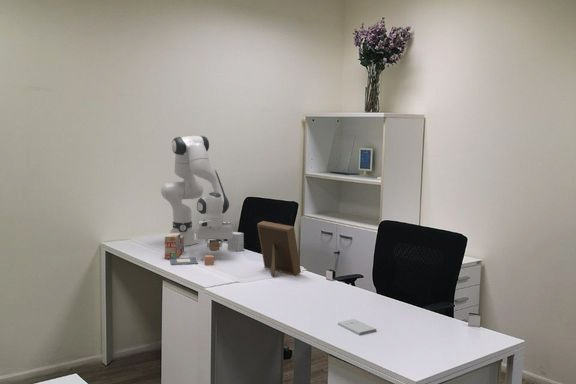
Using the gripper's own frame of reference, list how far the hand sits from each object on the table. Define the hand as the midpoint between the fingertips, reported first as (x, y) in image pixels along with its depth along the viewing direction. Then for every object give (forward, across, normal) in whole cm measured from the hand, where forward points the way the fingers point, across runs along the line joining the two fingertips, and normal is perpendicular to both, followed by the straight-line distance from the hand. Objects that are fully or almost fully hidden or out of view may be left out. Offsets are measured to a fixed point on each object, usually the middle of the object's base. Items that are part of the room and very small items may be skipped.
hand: (214, 246), depth 308 cm
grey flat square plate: (+7, +17, +4) cm, 19 cm away
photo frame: (+6, -27, +35) cm, 44 cm away
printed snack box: (+7, +21, -12) cm, 25 cm away
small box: (+8, -15, -20) cm, 26 cm away
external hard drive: (+5, -39, +118) cm, 124 cm away
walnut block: (+2, 0, 0) cm, 2 cm away
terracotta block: (+7, +4, +12) cm, 14 cm away
